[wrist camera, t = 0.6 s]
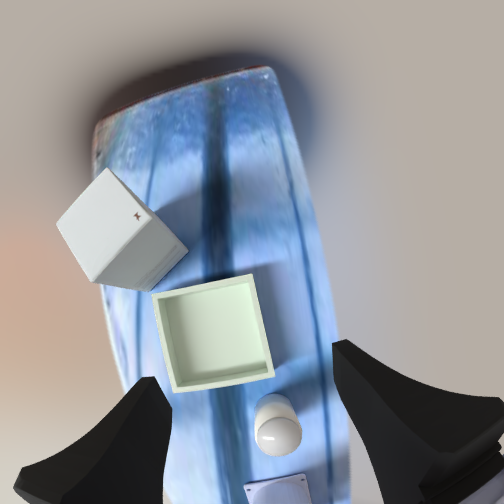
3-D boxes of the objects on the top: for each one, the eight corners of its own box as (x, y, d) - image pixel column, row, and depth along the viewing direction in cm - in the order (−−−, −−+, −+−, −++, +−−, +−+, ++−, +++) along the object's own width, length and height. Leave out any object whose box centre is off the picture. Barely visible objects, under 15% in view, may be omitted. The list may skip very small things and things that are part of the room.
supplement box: (153, 210, 33) (108, 162, 21) (190, 251, 32) (155, 217, 20) (113, 251, 32) (53, 222, 20) (147, 294, 31) (90, 285, 19)
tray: (273, 370, 29) (275, 376, 26) (180, 386, 29) (173, 393, 26) (252, 276, 32) (252, 273, 29) (160, 295, 31) (151, 294, 28)
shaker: (295, 421, 28) (307, 451, 20) (258, 429, 28) (260, 461, 20) (288, 389, 29) (299, 413, 21) (250, 397, 29) (250, 424, 21)
